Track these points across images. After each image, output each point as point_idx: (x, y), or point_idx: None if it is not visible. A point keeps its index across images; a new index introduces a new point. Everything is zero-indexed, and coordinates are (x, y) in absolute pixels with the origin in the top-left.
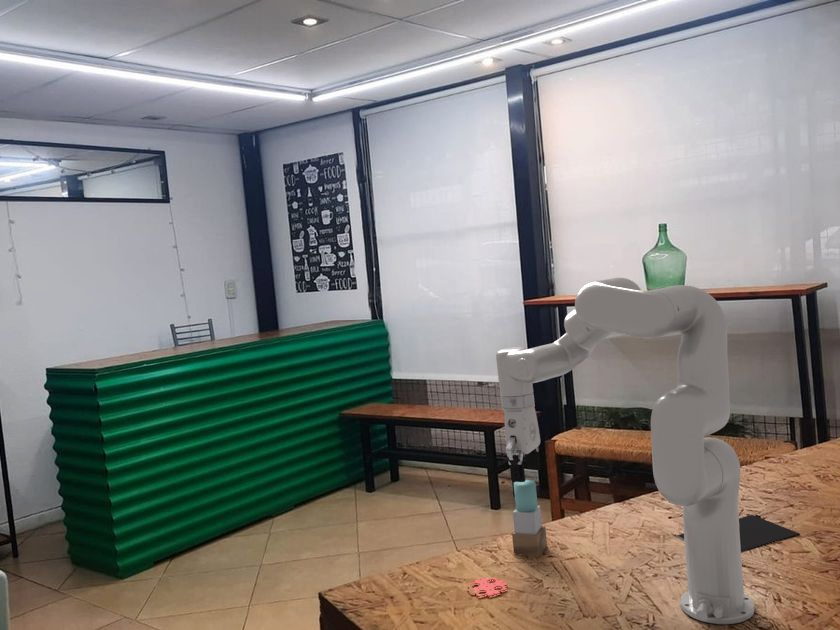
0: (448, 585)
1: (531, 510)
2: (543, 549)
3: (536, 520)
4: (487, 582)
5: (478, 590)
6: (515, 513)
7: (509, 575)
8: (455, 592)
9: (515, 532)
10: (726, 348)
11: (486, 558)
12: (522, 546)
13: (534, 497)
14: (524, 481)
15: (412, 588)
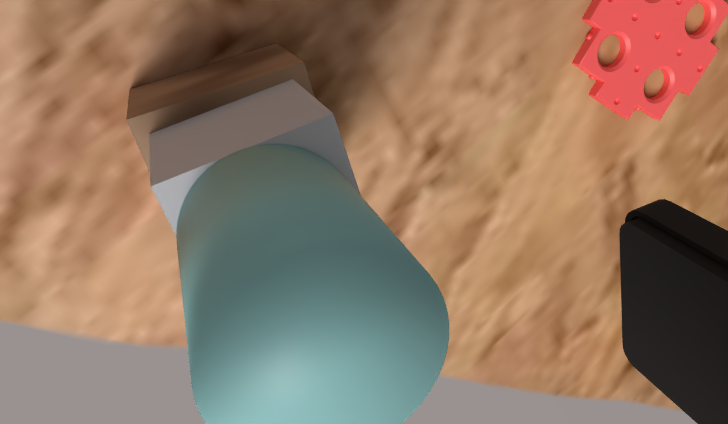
0: (665, 181)
1: (317, 154)
2: (194, 70)
3: (268, 114)
4: (628, 58)
5: (692, 42)
6: None
7: (517, 34)
8: (701, 120)
9: None
10: None
11: (419, 239)
12: None
13: (293, 183)
14: (652, 202)
15: None
